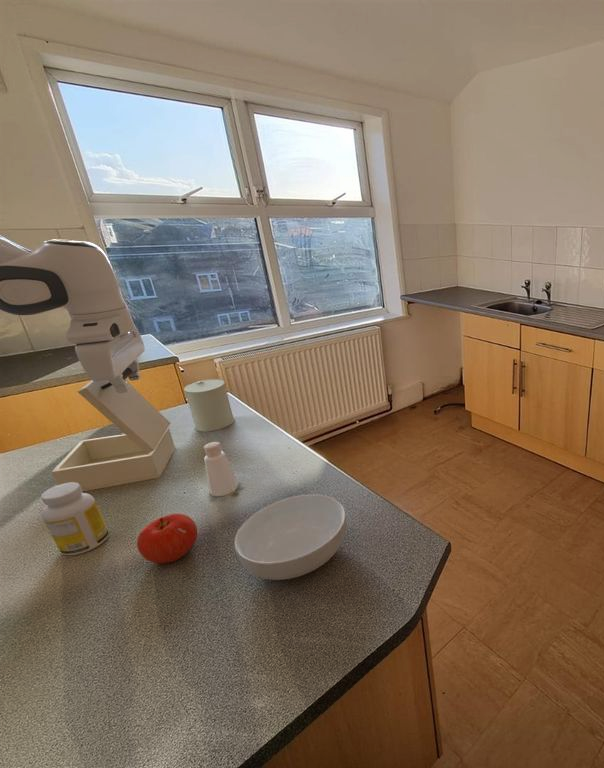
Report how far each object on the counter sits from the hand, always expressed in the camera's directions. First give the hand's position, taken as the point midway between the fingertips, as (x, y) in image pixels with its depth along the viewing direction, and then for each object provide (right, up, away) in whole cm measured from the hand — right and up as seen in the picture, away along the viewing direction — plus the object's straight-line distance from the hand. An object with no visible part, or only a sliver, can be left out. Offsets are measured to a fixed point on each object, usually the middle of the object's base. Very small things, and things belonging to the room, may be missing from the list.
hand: (129, 385), depth 93 cm
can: (0, -11, +26) cm, 28 cm away
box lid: (-2, -6, +1) cm, 6 cm away
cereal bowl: (+45, -30, -18) cm, 57 cm away
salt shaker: (+21, -22, -1) cm, 31 cm away
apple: (+24, -30, -18) cm, 42 cm away
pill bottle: (+6, -29, -16) cm, 33 cm away
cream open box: (-6, -19, +5) cm, 21 cm away
